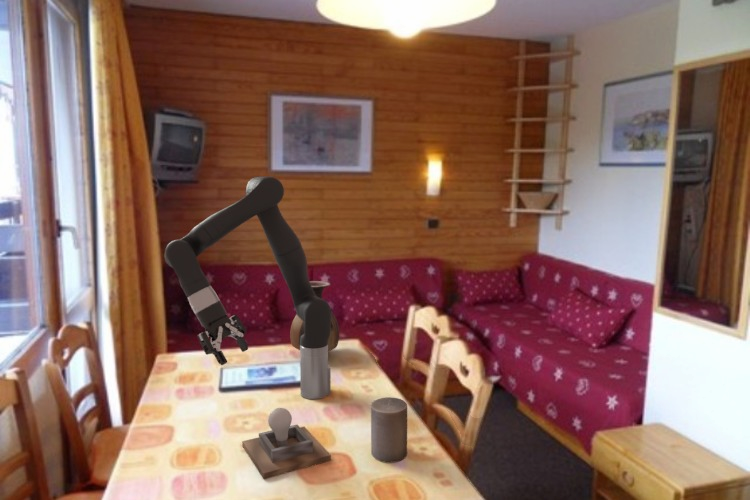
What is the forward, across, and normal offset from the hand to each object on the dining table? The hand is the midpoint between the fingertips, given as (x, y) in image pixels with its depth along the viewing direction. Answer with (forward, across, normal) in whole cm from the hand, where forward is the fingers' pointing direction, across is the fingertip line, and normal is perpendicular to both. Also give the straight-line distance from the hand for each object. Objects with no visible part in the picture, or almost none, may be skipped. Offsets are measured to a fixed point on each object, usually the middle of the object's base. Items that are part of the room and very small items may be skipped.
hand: (235, 357), depth 152 cm
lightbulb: (+27, -6, -6) cm, 28 cm away
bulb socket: (+28, -6, -6) cm, 29 cm away
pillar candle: (+42, +8, -25) cm, 49 cm away
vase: (+20, +60, +31) cm, 71 cm away
